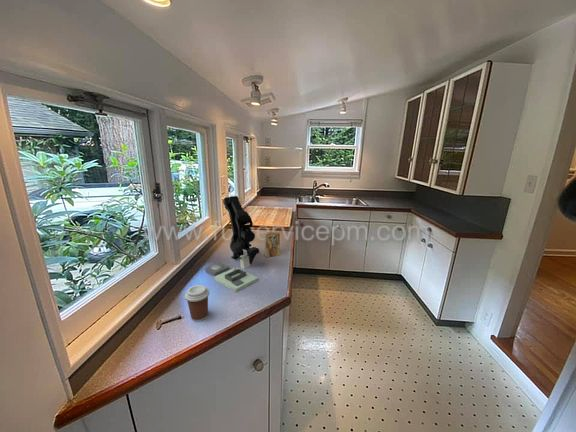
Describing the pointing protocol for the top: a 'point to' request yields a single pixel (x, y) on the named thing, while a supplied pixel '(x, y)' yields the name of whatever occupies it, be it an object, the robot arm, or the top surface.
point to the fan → (216, 269)
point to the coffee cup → (198, 302)
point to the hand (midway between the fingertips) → (245, 261)
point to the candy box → (272, 244)
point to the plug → (244, 261)
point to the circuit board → (235, 279)
